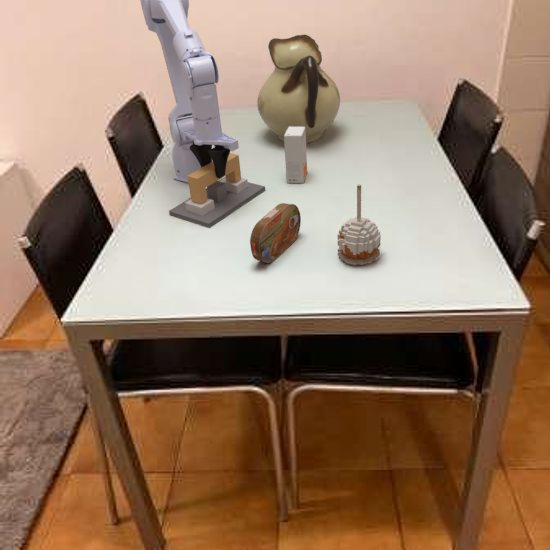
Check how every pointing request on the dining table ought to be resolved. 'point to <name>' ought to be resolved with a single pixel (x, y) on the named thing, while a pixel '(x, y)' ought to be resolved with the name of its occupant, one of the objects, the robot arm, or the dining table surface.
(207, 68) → the robot arm
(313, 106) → the beige sack vase
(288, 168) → the skincare box
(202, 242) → the dining table surface
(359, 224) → the caramel apple
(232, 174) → the frame
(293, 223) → the tin
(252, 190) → the stand
